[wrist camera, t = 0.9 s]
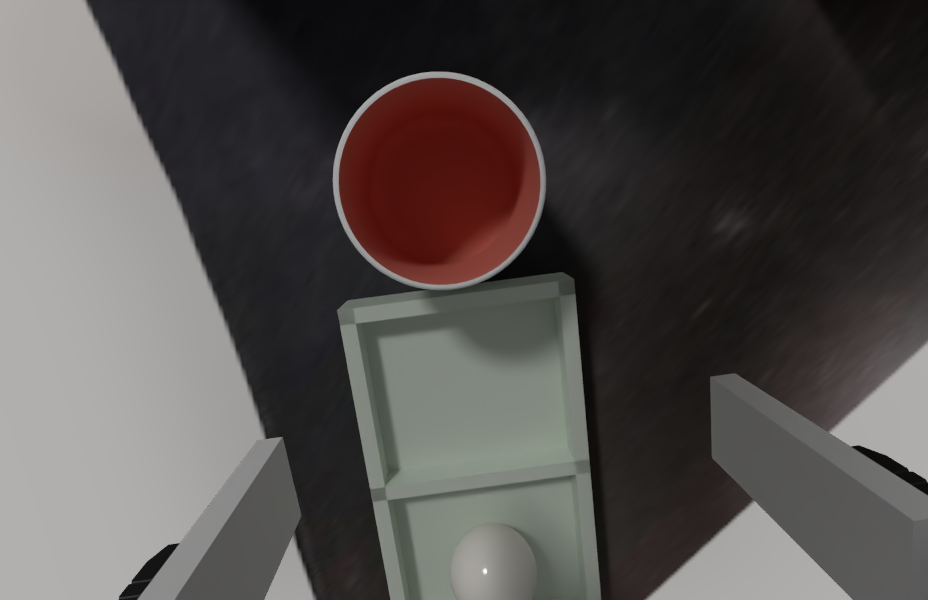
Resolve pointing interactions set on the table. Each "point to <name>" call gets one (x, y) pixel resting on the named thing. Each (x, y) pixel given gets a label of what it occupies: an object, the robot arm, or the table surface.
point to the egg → (492, 565)
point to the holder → (475, 428)
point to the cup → (439, 180)
